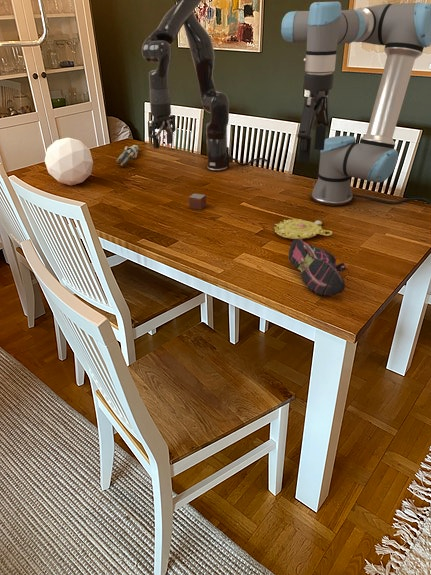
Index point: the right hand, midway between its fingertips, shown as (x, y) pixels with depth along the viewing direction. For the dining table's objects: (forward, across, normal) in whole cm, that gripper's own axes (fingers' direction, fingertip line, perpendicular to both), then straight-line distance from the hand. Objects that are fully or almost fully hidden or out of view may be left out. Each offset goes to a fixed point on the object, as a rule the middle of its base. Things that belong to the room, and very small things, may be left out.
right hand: (311, 155), depth 125 cm
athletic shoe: (+28, +19, +11) cm, 35 cm away
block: (+28, -12, -46) cm, 55 cm away
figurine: (+28, -52, -109) cm, 123 cm away
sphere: (+28, -13, -109) cm, 113 cm away
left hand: (+9, -21, -66) cm, 70 cm away
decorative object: (+28, -6, -3) cm, 29 cm away
